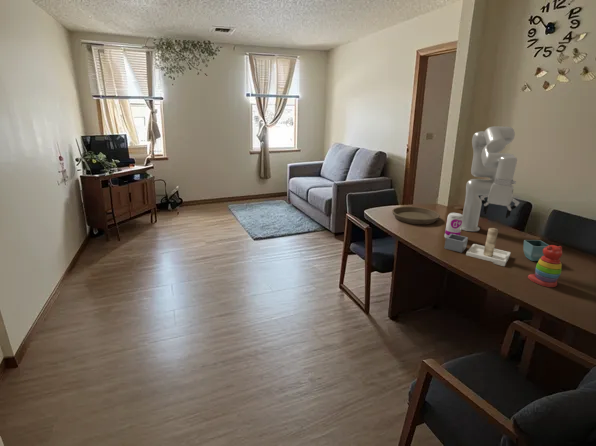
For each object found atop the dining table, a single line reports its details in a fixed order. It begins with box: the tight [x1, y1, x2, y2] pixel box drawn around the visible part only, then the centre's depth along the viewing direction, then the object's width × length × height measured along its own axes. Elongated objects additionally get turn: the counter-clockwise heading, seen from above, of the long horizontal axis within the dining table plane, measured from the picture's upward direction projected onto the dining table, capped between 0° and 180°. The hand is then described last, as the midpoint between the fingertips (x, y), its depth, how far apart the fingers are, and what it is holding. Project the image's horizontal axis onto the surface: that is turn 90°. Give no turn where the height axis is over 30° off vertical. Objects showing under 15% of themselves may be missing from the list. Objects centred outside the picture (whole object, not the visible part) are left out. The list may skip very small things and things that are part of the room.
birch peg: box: [483, 227, 499, 257], centre depth 185 cm, size 4×4×14 cm
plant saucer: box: [391, 206, 441, 225], centre depth 245 cm, size 31×31×5 cm
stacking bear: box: [527, 244, 563, 288], centre depth 159 cm, size 11×10×18 cm
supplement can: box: [443, 212, 463, 239], centre depth 208 cm, size 8×8×15 cm
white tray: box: [465, 243, 511, 267], centre depth 187 cm, size 15×18×2 cm
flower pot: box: [522, 239, 550, 262], centre depth 184 cm, size 9×9×9 cm
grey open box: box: [443, 234, 469, 254], centre depth 194 cm, size 9×9×7 cm
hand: (496, 215), depth 180 cm, fingers open, 9 cm apart
